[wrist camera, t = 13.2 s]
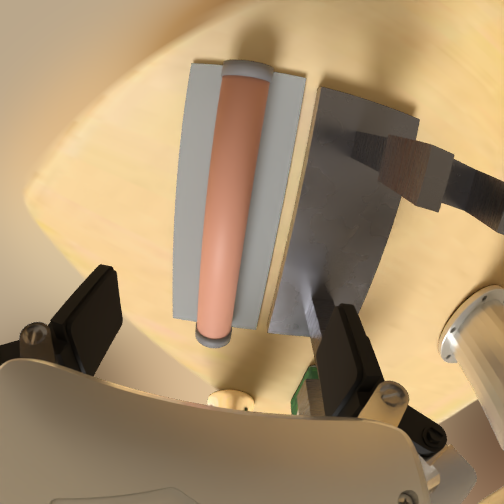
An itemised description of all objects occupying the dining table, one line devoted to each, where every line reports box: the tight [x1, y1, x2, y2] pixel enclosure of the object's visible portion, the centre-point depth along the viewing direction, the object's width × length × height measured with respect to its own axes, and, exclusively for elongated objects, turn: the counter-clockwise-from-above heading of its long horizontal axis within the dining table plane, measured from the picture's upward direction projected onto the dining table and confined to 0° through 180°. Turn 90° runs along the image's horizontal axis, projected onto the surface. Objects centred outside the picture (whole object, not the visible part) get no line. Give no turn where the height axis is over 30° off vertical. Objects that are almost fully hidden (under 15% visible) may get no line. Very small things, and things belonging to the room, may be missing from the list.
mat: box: [173, 63, 306, 330], centre depth 21 cm, size 8×22×1 cm, turn 171°
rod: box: [195, 60, 274, 348], centre depth 20 cm, size 22×3×3 cm, turn 171°
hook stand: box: [267, 87, 504, 416], centre depth 16 cm, size 8×21×13 cm, turn 171°
